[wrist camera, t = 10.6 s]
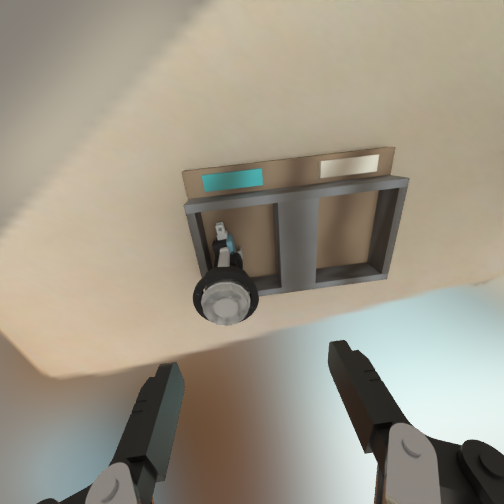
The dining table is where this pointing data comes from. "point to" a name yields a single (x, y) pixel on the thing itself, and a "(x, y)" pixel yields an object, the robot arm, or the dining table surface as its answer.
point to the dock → (331, 213)
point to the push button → (226, 285)
